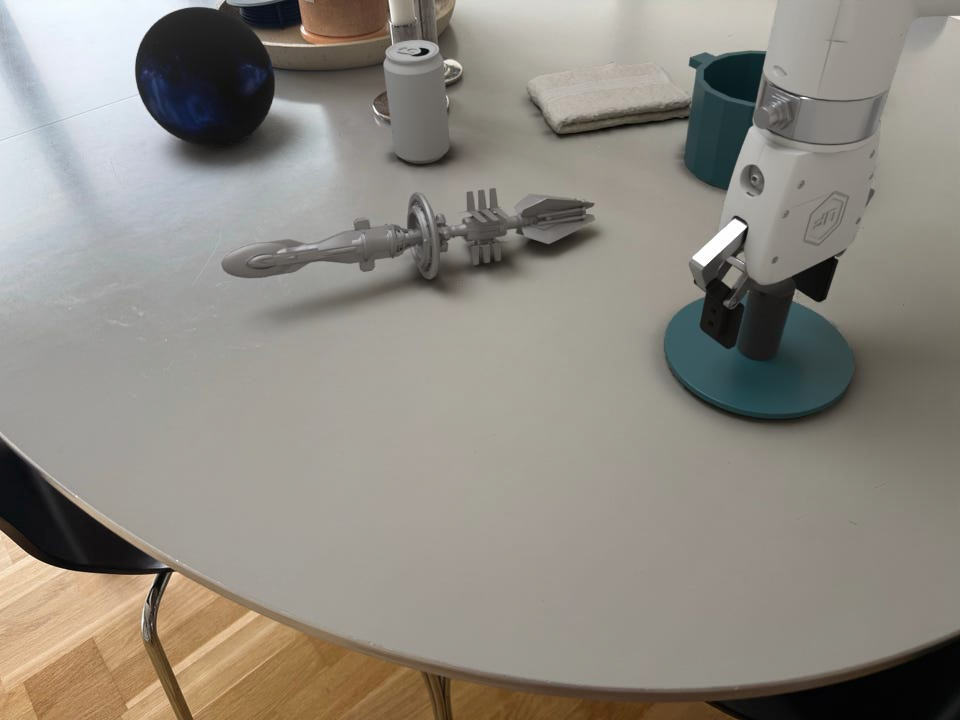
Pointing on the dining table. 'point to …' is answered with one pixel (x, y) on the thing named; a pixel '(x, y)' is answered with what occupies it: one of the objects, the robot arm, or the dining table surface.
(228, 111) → the decorative sphere
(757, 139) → the robot arm
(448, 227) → the spaceship
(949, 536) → the dining table surface
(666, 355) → the lid
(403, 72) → the beverage can
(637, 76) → the washcloth
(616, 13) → the dining table surface
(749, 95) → the pot
